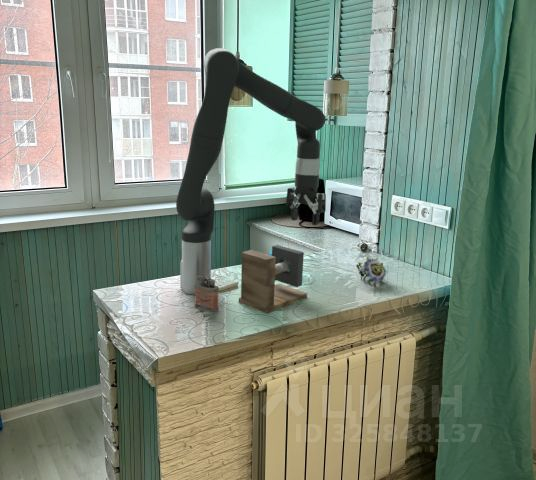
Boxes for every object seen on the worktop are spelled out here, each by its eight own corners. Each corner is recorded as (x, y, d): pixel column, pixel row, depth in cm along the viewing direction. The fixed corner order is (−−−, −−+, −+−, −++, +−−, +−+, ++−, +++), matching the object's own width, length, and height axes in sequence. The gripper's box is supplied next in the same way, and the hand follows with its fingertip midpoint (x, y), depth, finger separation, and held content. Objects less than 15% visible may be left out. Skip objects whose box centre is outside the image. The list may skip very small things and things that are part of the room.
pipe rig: (280, 286, 177) (282, 239, 172) (308, 296, 169) (311, 247, 165) (238, 302, 162) (239, 251, 158) (267, 313, 155) (269, 260, 150)
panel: (275, 276, 173) (277, 244, 170) (301, 285, 166) (303, 252, 163) (270, 278, 171) (272, 246, 168) (297, 287, 164) (298, 253, 161)
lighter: (220, 310, 156) (221, 278, 154) (214, 313, 153) (214, 281, 151) (199, 304, 160) (199, 273, 157) (192, 307, 157) (192, 276, 155)
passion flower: (375, 301, 181) (369, 281, 173) (351, 287, 188) (344, 266, 180) (395, 280, 185) (391, 258, 176) (372, 266, 192) (366, 245, 183)
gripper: (282, 170, 167) (280, 220, 171) (318, 176, 158) (315, 228, 162) (297, 168, 172) (294, 216, 177) (332, 174, 163) (329, 224, 167)
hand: (304, 222), depth 169 cm, fingers open, 8 cm apart
